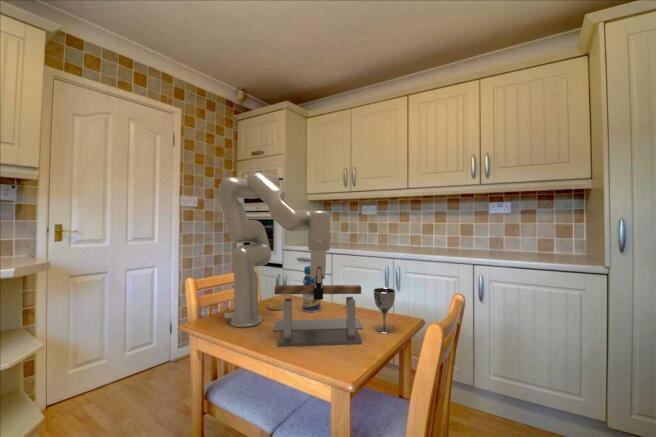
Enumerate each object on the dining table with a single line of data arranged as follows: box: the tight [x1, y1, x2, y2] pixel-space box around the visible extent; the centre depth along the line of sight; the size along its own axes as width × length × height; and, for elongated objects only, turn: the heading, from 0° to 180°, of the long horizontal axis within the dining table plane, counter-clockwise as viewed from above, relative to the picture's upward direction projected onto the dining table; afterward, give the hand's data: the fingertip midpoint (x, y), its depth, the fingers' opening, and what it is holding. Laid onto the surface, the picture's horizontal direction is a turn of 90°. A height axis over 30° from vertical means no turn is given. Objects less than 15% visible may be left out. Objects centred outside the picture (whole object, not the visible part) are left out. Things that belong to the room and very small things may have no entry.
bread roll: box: [266, 299, 285, 311], centre depth 144 cm, size 8×9×4 cm
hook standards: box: [277, 296, 363, 348], centre depth 106 cm, size 28×10×14 cm, turn 94°
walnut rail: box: [274, 284, 362, 295], centre depth 106 cm, size 30×3×2 cm, turn 94°
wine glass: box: [373, 287, 396, 334], centre depth 115 cm, size 8×8×15 cm
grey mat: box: [272, 317, 364, 333], centre depth 120 cm, size 34×11×1 cm, turn 94°
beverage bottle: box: [302, 265, 322, 313], centre depth 141 cm, size 8×8×20 cm
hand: (318, 297), depth 106 cm, fingers closed on walnut rail, 3 cm apart
